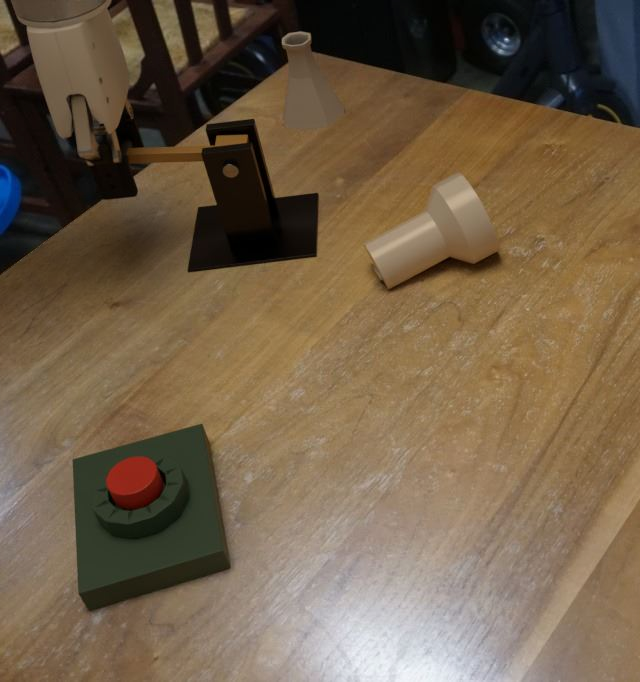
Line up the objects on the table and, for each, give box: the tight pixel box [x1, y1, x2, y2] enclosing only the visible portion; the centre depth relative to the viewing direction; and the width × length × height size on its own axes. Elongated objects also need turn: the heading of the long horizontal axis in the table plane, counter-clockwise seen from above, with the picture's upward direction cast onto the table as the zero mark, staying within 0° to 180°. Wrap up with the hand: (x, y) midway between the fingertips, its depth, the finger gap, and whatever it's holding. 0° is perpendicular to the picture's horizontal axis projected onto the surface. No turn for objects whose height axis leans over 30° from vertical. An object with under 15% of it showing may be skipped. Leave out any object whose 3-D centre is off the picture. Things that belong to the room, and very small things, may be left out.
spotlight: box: [362, 172, 501, 290], centre depth 100 cm, size 8×11×8 cm
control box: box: [72, 423, 232, 612], centre depth 81 cm, size 13×10×4 cm
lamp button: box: [106, 456, 163, 510], centre depth 79 cm, size 4×4×2 cm
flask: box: [281, 30, 345, 132], centre depth 119 cm, size 7×7×10 cm
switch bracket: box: [187, 118, 320, 273], centre depth 103 cm, size 12×10×12 cm
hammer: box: [116, 133, 249, 165], centre depth 99 cm, size 12×5×2 cm, turn 96°
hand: (124, 176), depth 100 cm, fingers closed on hammer, 5 cm apart
